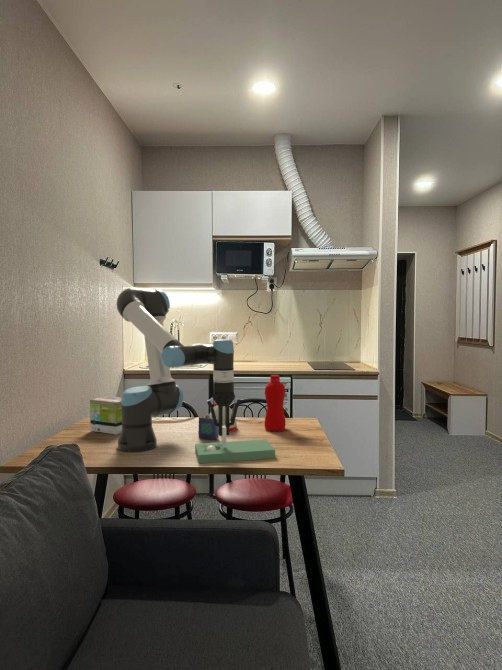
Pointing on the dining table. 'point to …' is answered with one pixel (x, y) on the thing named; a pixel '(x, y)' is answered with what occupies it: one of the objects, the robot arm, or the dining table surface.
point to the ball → (211, 448)
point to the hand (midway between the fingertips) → (223, 443)
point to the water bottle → (275, 404)
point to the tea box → (106, 415)
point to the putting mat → (234, 451)
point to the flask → (207, 428)
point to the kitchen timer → (232, 427)
